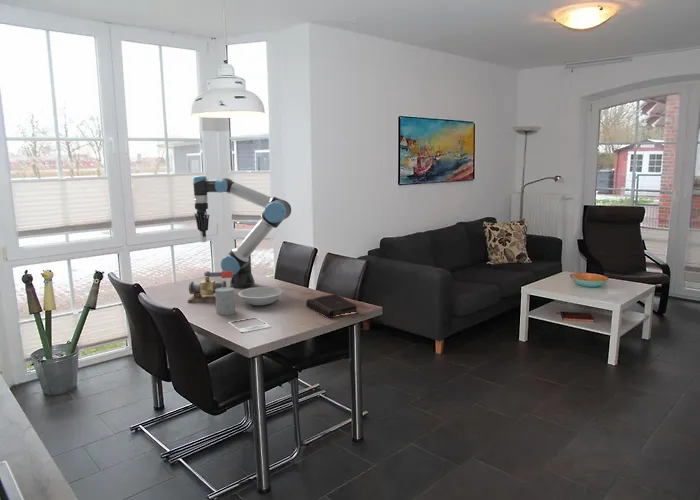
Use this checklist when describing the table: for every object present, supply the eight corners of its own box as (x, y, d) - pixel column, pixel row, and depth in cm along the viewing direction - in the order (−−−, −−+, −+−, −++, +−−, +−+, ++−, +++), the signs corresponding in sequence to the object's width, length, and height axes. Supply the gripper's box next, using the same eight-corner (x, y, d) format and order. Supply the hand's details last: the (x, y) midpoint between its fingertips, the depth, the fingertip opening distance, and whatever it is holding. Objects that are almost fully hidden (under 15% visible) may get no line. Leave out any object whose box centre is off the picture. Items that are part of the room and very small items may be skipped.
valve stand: (228, 296, 296) (227, 274, 294) (224, 302, 285) (223, 279, 283) (193, 297, 296) (192, 275, 293) (187, 302, 285) (186, 279, 283)
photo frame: (241, 331, 233) (228, 321, 248) (241, 334, 234) (228, 323, 249) (271, 326, 241) (256, 316, 256) (271, 328, 241) (256, 318, 256)
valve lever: (232, 277, 288) (232, 271, 288) (204, 278, 287) (203, 272, 286) (233, 276, 291) (232, 270, 290) (205, 277, 290) (204, 271, 289)
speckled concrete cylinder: (238, 310, 269) (237, 287, 267) (228, 315, 260) (227, 292, 258) (222, 308, 272) (221, 286, 270) (212, 314, 263) (211, 290, 261)
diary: (328, 320, 253) (327, 310, 252) (306, 308, 274) (305, 299, 274) (360, 314, 262) (360, 304, 261) (336, 302, 284) (336, 293, 283)
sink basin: (291, 301, 286) (291, 289, 285) (265, 312, 265) (264, 300, 264) (257, 296, 297) (256, 285, 296) (229, 306, 276) (228, 294, 275)
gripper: (189, 202, 306) (192, 241, 310) (201, 203, 297) (203, 243, 301) (201, 201, 311) (203, 240, 315) (212, 202, 302) (215, 242, 306)
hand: (203, 241), depth 308 cm, fingers closed
